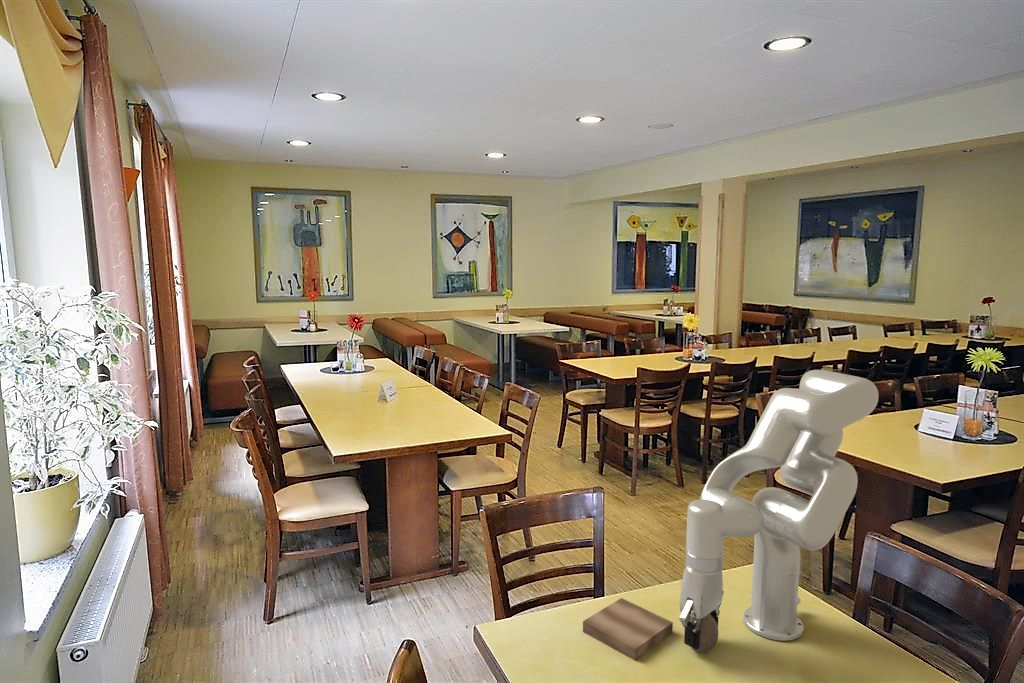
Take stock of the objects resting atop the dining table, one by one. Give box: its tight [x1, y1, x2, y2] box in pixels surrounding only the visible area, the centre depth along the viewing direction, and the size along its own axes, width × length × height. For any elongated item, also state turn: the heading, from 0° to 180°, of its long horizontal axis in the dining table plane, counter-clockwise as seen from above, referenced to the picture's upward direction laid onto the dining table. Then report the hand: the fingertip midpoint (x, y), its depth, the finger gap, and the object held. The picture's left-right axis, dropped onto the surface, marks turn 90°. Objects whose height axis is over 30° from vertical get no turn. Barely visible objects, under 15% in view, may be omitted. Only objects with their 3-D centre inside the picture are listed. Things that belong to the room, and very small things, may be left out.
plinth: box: [582, 597, 674, 661], centre depth 141 cm, size 14×14×2 cm
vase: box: [690, 611, 719, 654], centre depth 135 cm, size 7×7×9 cm
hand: (701, 638), depth 135 cm, fingers closed on vase, 6 cm apart
